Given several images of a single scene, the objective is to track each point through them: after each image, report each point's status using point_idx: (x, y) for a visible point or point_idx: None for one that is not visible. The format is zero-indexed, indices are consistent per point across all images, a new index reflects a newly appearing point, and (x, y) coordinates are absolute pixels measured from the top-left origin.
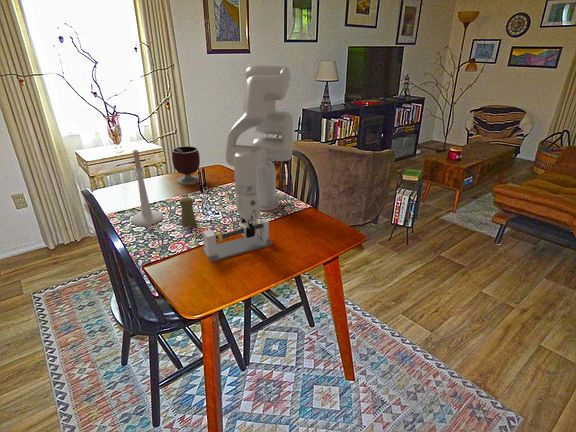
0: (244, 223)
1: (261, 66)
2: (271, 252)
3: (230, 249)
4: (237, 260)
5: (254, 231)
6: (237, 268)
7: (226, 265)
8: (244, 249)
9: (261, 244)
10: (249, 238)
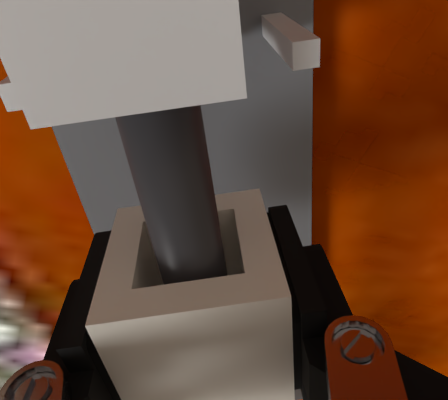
0: (153, 396)
1: None
2: (438, 14)
3: None
4: (368, 286)
5: (302, 248)
6: (445, 300)
7: None
8: None
9: (281, 80)
10: (118, 159)
